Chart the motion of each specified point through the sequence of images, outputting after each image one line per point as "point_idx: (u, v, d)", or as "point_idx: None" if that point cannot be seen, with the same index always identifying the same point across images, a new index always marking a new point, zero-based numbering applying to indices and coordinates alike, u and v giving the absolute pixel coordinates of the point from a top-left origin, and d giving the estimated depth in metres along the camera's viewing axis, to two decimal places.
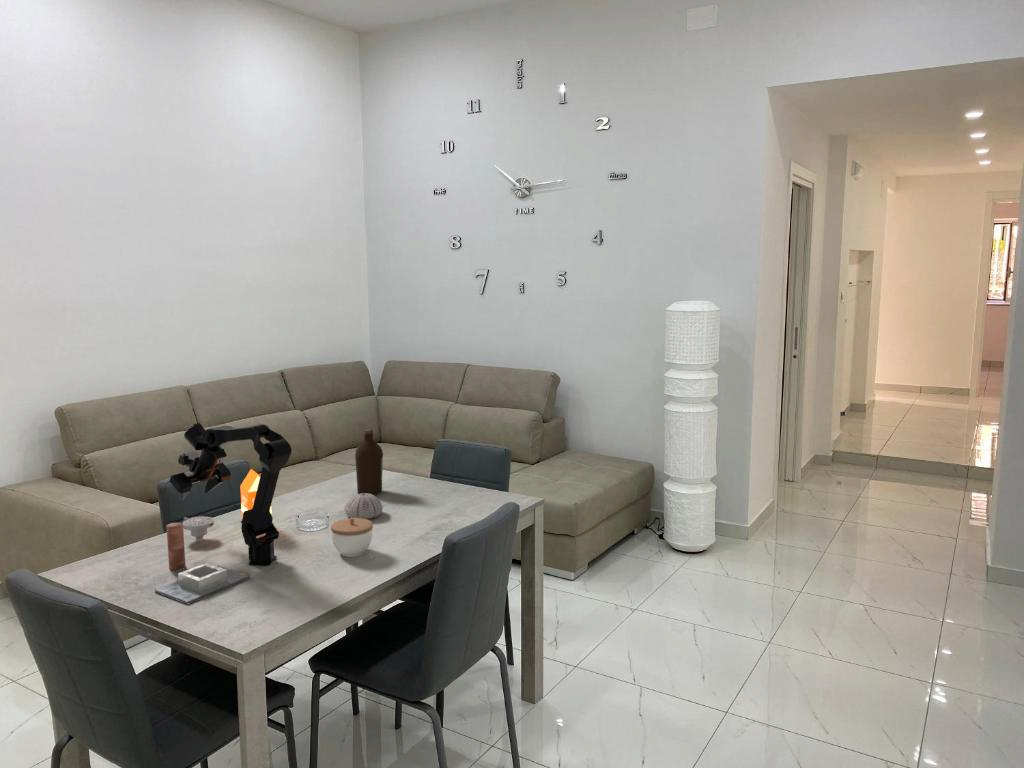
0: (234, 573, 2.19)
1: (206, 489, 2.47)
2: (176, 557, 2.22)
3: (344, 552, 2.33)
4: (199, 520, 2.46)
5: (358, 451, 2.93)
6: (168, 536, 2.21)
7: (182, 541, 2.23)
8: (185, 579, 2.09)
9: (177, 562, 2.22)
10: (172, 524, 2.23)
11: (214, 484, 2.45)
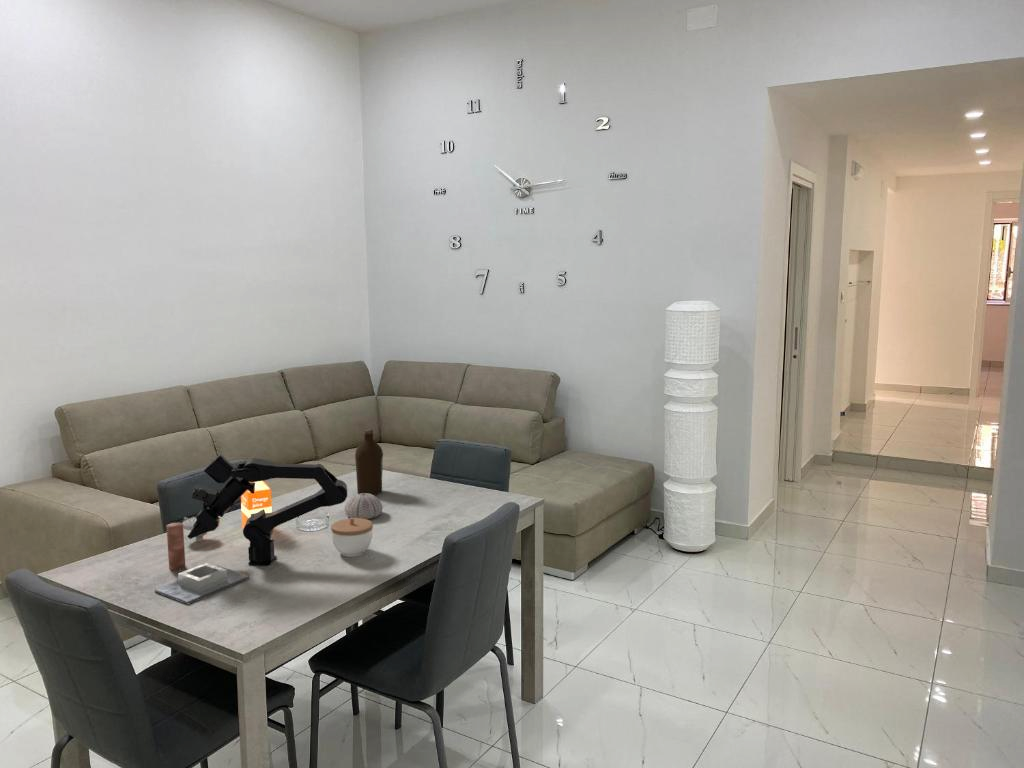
0: (234, 573, 2.19)
1: None
2: (176, 557, 2.22)
3: (344, 552, 2.33)
4: None
5: (358, 451, 2.93)
6: (168, 536, 2.21)
7: (182, 541, 2.23)
8: (185, 579, 2.09)
9: (177, 562, 2.22)
10: (172, 524, 2.23)
11: None
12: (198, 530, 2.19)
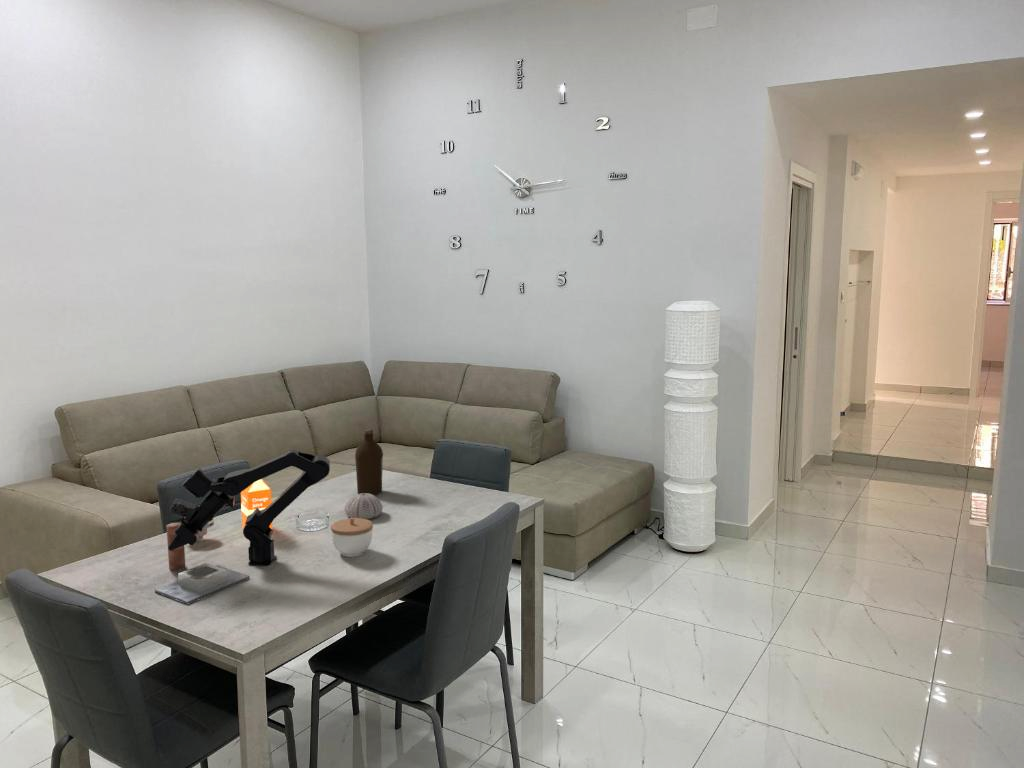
0: (234, 573, 2.19)
1: None
2: (176, 557, 2.22)
3: (344, 552, 2.33)
4: None
5: (358, 451, 2.93)
6: (168, 536, 2.21)
7: None
8: (185, 579, 2.09)
9: (177, 562, 2.22)
10: (172, 524, 2.23)
11: None
12: (178, 542, 2.20)
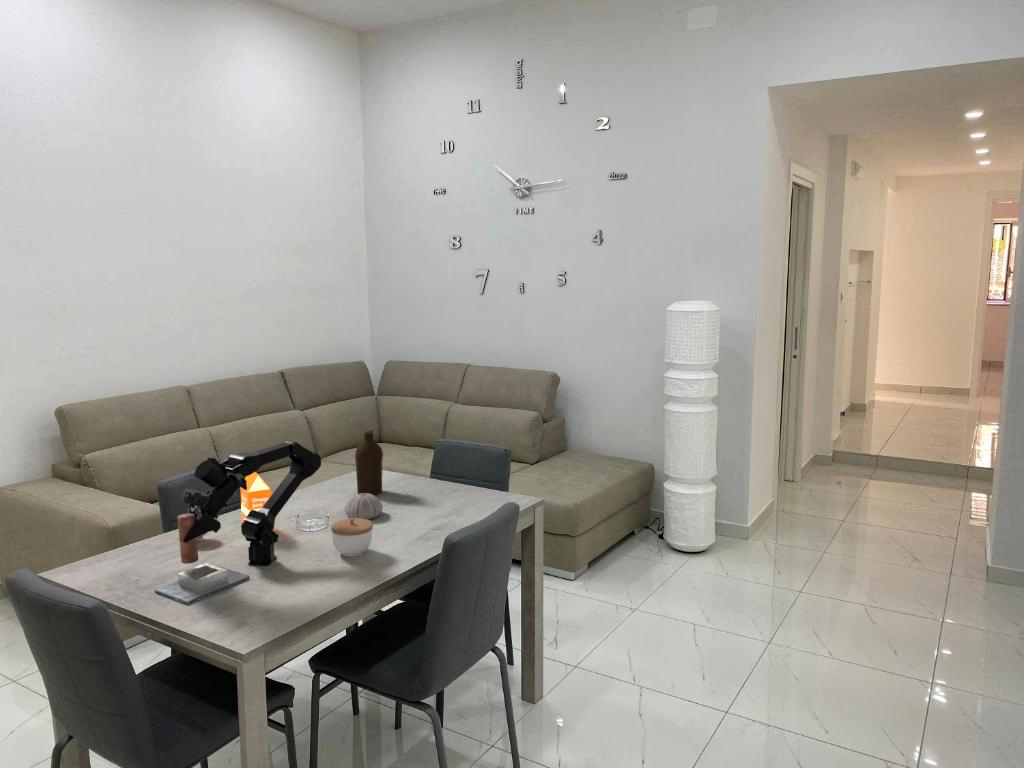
0: (234, 573, 2.19)
1: None
2: (191, 549, 2.12)
3: (344, 552, 2.33)
4: None
5: (358, 451, 2.93)
6: (181, 528, 2.11)
7: None
8: (185, 579, 2.09)
9: (193, 554, 2.13)
10: (182, 515, 2.12)
11: None
12: (195, 532, 2.11)
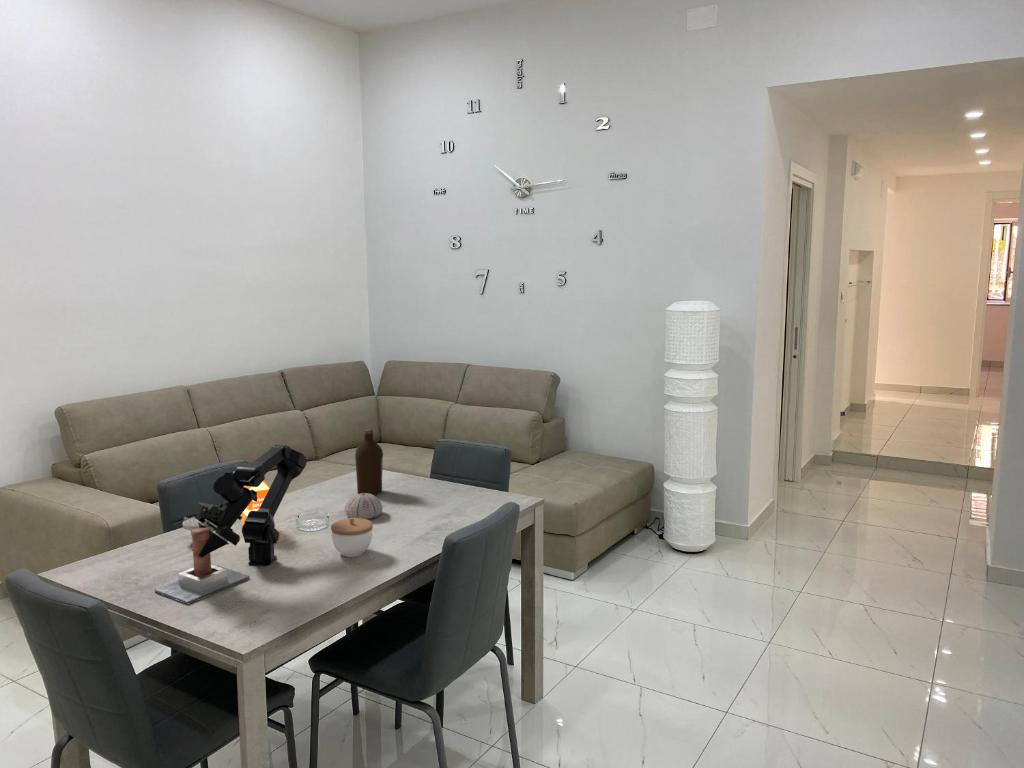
0: (234, 573, 2.19)
1: None
2: (206, 564, 2.10)
3: (344, 552, 2.33)
4: None
5: (358, 451, 2.93)
6: (197, 543, 2.09)
7: None
8: (185, 579, 2.09)
9: (207, 568, 2.11)
10: (196, 530, 2.10)
11: None
12: (211, 546, 2.09)
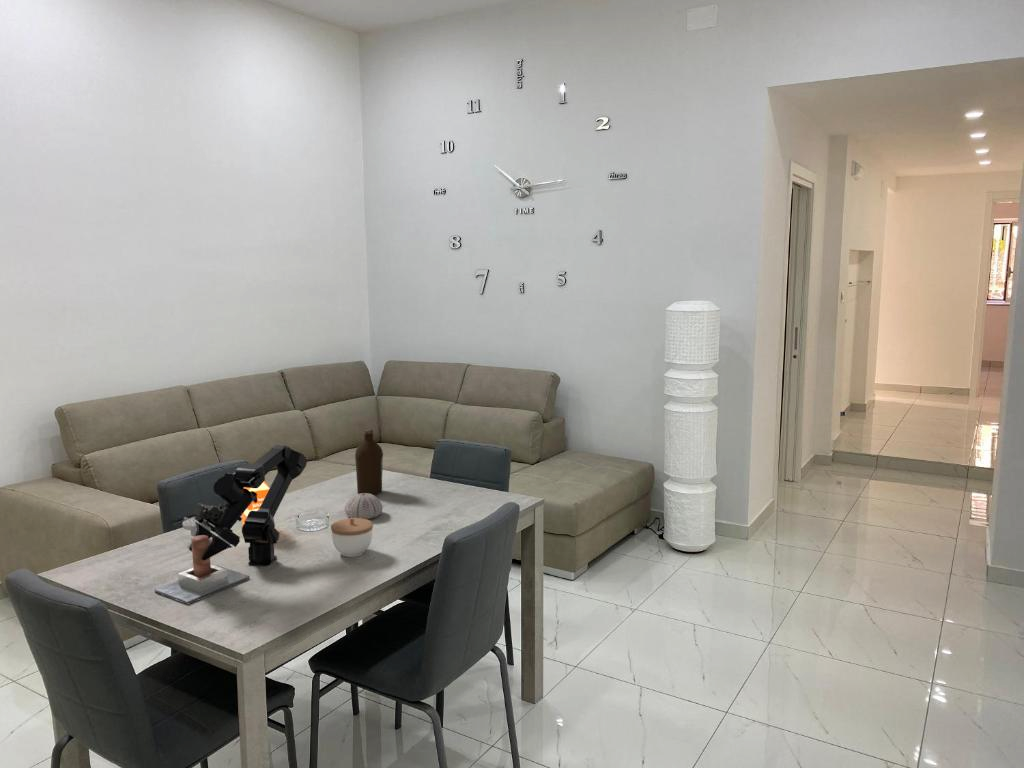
0: (234, 573, 2.19)
1: None
2: (206, 571, 2.10)
3: (344, 552, 2.33)
4: None
5: (358, 451, 2.93)
6: (196, 551, 2.08)
7: None
8: (185, 579, 2.09)
9: None
10: (195, 538, 2.10)
11: None
12: (214, 550, 2.08)
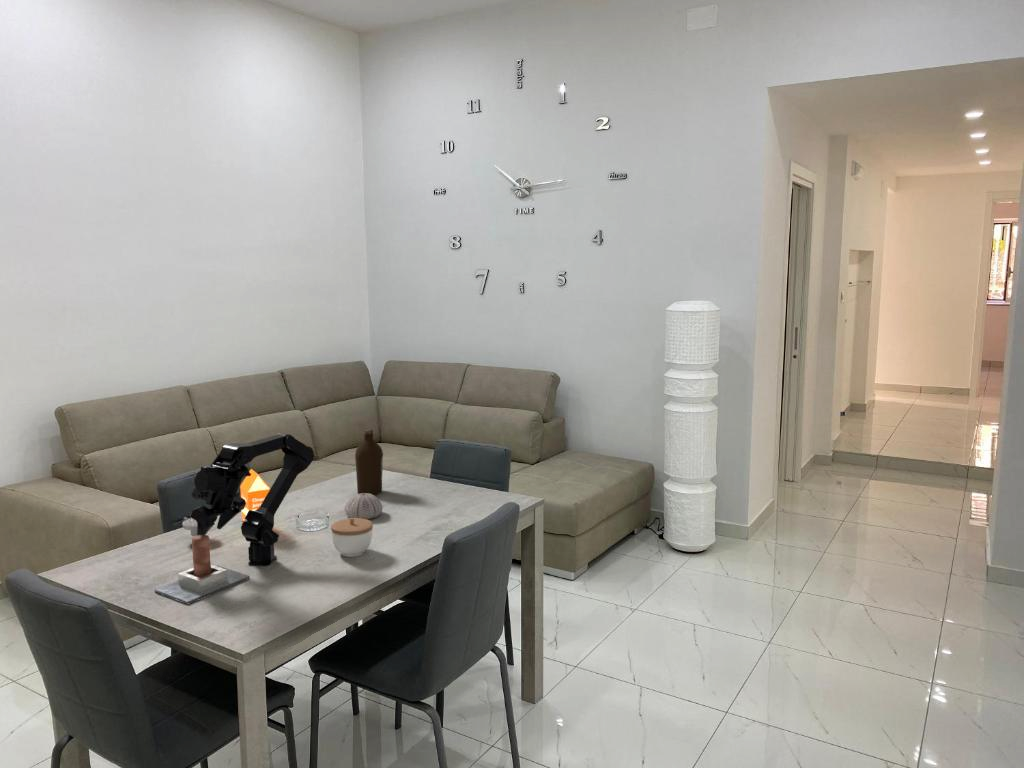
0: (234, 573, 2.19)
1: (219, 524, 2.25)
2: (206, 571, 2.11)
3: (344, 552, 2.33)
4: None
5: (358, 451, 2.93)
6: (197, 550, 2.09)
7: (209, 553, 2.12)
8: (185, 579, 2.09)
9: None
10: (196, 537, 2.11)
11: (230, 516, 2.25)
12: (201, 529, 2.15)
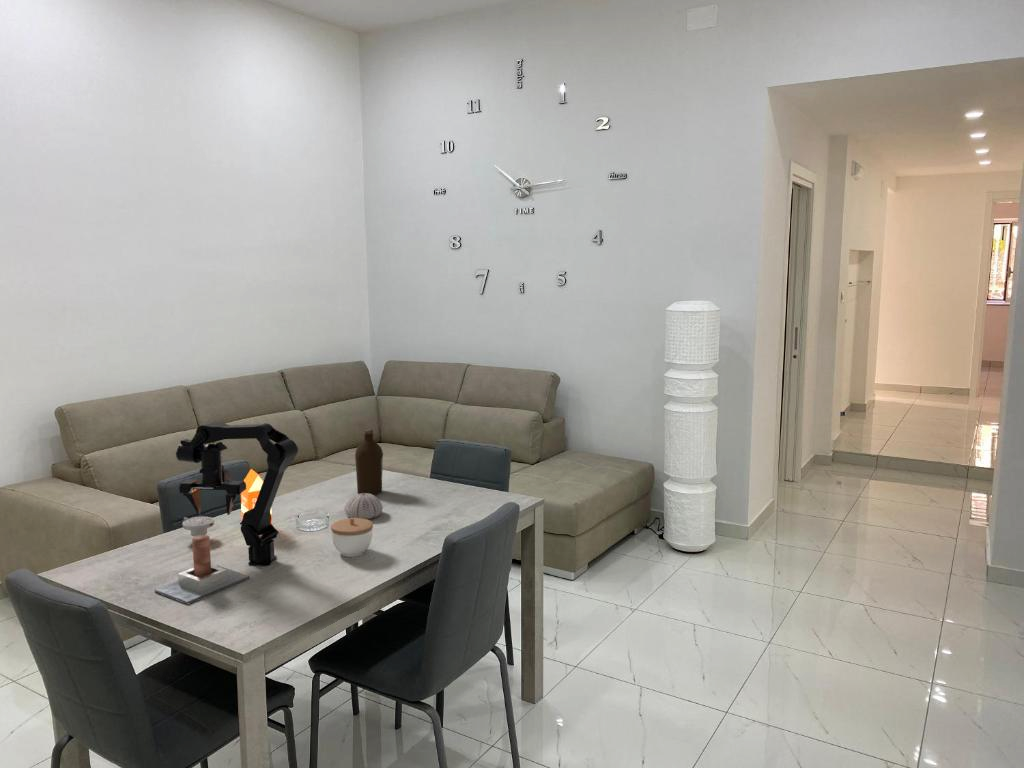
0: (234, 573, 2.19)
1: None
2: (206, 571, 2.11)
3: (344, 552, 2.33)
4: (199, 520, 2.46)
5: (358, 451, 2.93)
6: (197, 550, 2.09)
7: None
8: (185, 579, 2.09)
9: None
10: (196, 537, 2.10)
11: None
12: None
